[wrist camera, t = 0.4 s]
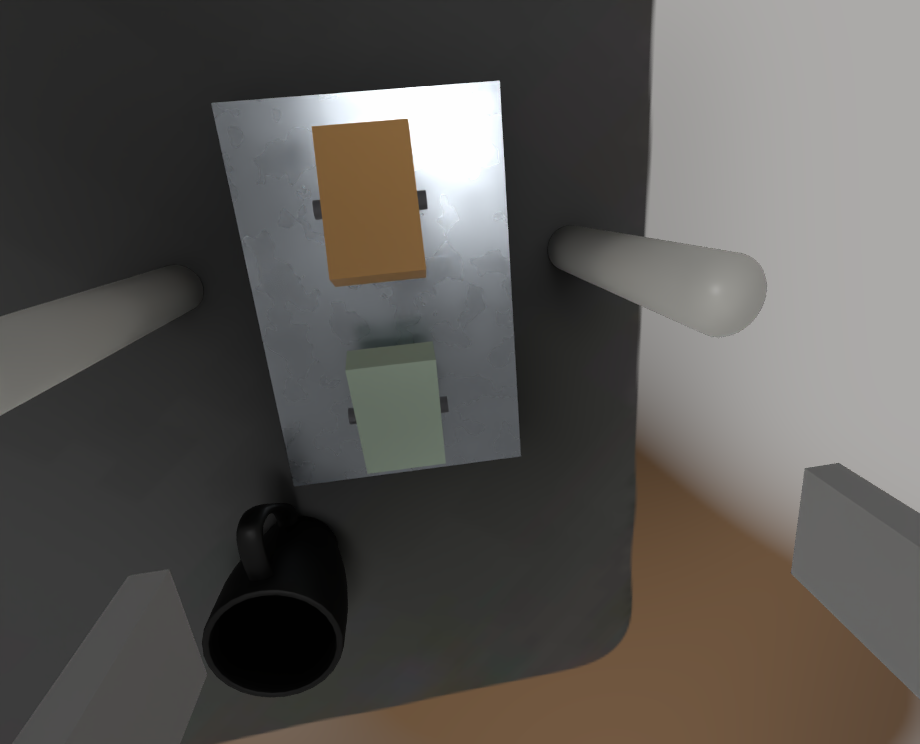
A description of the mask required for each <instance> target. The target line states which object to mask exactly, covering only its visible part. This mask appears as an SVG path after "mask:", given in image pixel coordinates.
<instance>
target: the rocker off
mask: <svg viewBox="0 0 920 744" xmlns="http://www.w3.org/2000/svg"><path fill="white" fill-rule="evenodd" d="M311 127H312V135H313V144H314V152H315V161H316V169H317V178H318V186H319V195H320V200H313V201H312V206H313V213H314V217H315V219H316V220H320V219H322V221H323V229H324V238H325V246H326V255H327V263H328V272H329V280H330V281H331V282H332V283H333V285H334V286H335V287H341V286H350V285H360V284H369V283H379V282H388V281H398V280H407V279H417V278H426V263H425V254H424V246H423V238H422V229H421V221H420V213H419V210H425V209H428V206H427V195H426V190H420V191H417V188H416V180H415V171H414V163H413V155H412V146H411V138H410V130H409V122H408V119H395V120H383V121H371V122H359V123H346V124H334V125H322V126H311Z"/></svg>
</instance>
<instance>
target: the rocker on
mask: <svg viewBox="0 0 920 744" xmlns="http://www.w3.org/2000/svg"><path fill="white" fill-rule="evenodd" d="M345 371H346V376H347V381H348V385H349V390H350V395H351V399H352V404H353V408H348V418H349V423H350V425H351V424H357V427H358V432H359V436H360V441H361V446H362V450H363V455H364V459H365V464H366V469H367V473H368V474H370V473H378V472H385V471H393V470H400V469H408V468H415V467H423V466H430V465H438V464H446V461H445V450H444V440H443V429H442V419H441V413H446V412H449V409H448V401H447V396H443V397H439V387H438V377H437V366H436V358H435V352H434V346H433V341H430V342H422V343H413V344H404V345H396V346H387V347H378V348H369V349H361V350H352V351H347V355H346V368H345Z"/></svg>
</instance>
